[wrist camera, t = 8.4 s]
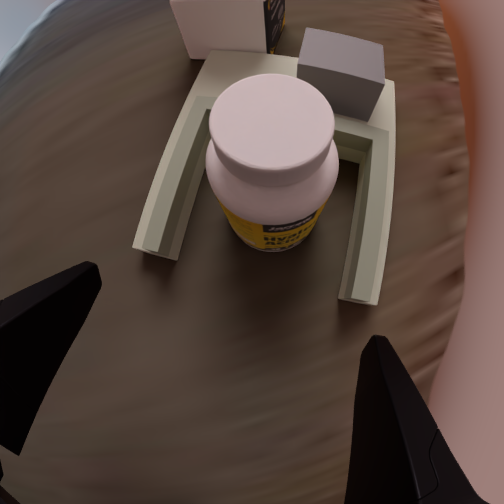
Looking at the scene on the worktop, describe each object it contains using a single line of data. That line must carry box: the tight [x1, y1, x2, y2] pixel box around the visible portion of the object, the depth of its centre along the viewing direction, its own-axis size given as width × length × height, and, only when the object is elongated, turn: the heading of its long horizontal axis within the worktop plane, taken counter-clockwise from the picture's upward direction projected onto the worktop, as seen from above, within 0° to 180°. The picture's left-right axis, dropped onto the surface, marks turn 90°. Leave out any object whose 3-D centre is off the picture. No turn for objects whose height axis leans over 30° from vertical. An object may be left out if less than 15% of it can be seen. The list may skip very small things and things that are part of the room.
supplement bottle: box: [206, 74, 339, 252], centre depth 13 cm, size 5×5×10 cm
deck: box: [132, 27, 395, 305], centre depth 16 cm, size 16×14×6 cm
